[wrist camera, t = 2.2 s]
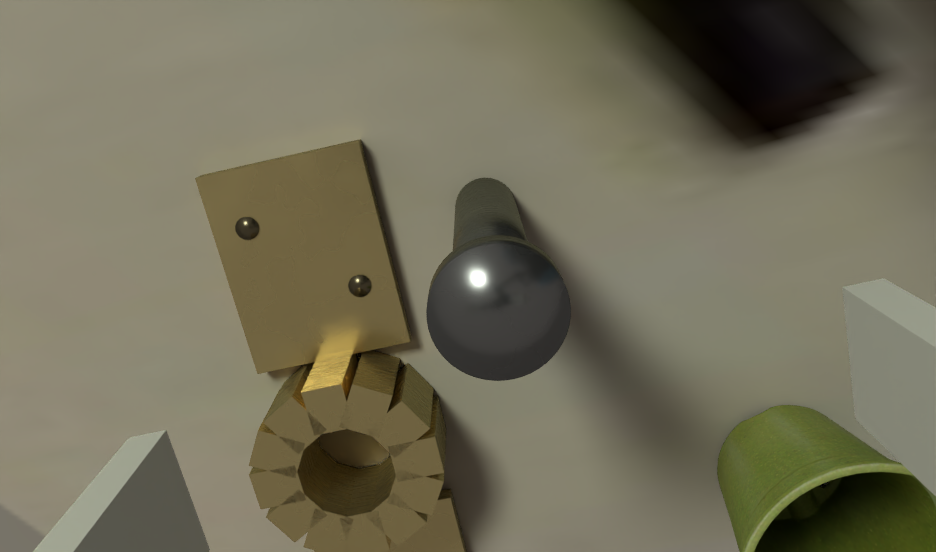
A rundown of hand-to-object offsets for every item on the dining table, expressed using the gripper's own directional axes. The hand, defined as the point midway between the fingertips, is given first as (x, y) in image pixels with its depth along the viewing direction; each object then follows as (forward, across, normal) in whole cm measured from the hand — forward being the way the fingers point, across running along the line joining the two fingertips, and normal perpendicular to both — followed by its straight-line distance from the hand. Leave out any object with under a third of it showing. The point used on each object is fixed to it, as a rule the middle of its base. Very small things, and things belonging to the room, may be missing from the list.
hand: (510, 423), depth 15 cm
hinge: (+20, -8, -9) cm, 23 cm away
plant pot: (+20, +11, -15) cm, 27 cm away
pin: (+20, 0, 0) cm, 20 cm away
